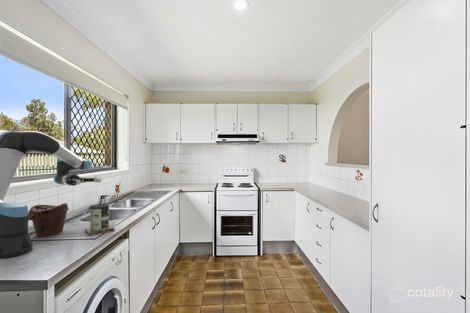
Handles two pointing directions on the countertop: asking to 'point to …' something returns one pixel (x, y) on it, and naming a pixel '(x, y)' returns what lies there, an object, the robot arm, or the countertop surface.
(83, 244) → the countertop surface
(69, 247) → the countertop surface
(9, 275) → the countertop surface
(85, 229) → the walnut board
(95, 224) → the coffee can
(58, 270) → the countertop surface
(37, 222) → the brown clay flowerpot
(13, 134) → the robot arm
